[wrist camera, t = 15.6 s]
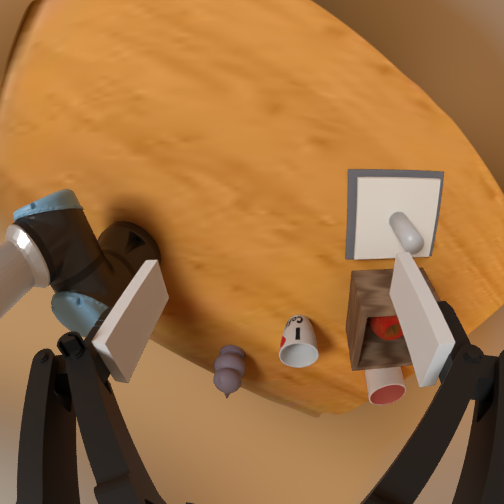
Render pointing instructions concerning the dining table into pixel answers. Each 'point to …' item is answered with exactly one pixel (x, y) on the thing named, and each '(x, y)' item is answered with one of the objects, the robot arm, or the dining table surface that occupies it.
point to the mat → (380, 173)
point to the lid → (395, 216)
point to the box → (374, 305)
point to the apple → (386, 327)
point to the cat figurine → (229, 369)
